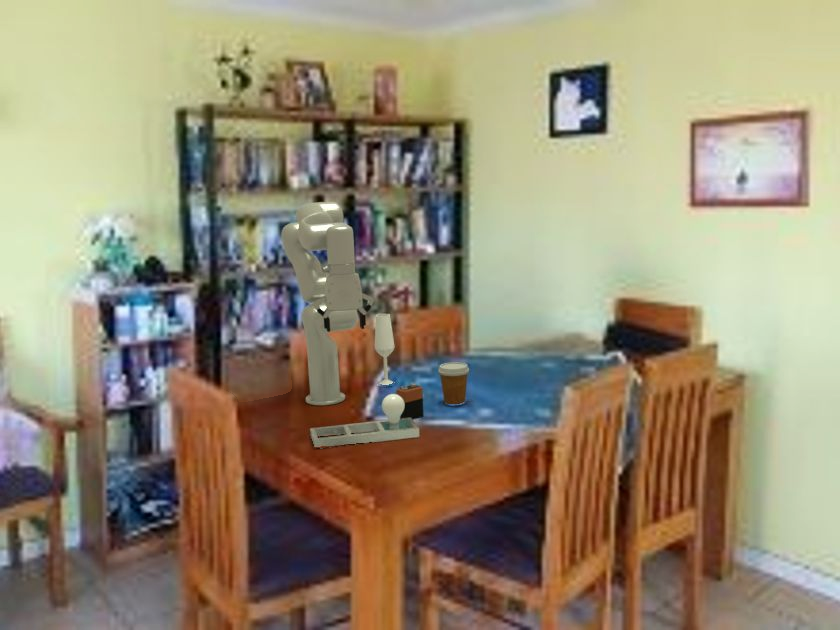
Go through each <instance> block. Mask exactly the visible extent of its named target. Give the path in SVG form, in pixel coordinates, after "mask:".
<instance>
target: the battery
mask: <svg viewBox="0 0 840 630" xmlns="http://www.w3.org/2000/svg"><path fill="white" fill-rule="evenodd" d="M396 394H397V395H399V396H400V397H402V399H403V400H404V403H405V408H404V411H403V413H402V414H401V416H400V418H409V417H411V418H412V420H414V418H415V419H418V418H417V417H419V418H421V417H420V416H422V417H424V396H423V394H424V393H423V387H422V386H420V385H418V382H411V383H409V385H402V386H401V387H397V388H396Z"/></svg>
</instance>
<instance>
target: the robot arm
mask: <svg viewBox="0 0 840 630" xmlns="http://www.w3.org/2000/svg"><path fill="white" fill-rule="evenodd" d="M295 220H296V221H295V222H291V223H287V224H286V225H284V227H283V228H282V230H281V243H282V246H283V249H284V252H285V254H286V257H287V259H288V260H289V262H290V263H291V264H292V266H293V269H294V272H295V276H296V281H297V285H298V289H299V292H300V296H301V299H302V300H303V301H304V302H305V303H307V304H308V305H305V307H304V308H303V309H302V312H301V321H302V325H303V329H304V334H305V342H306V351H307V352H306V353H307V364H308V365H307V366H308V381H309V394H308V395H307V396H306V397H305V402H306V403H307V404H309V405H312V406H331V405H335V404H339V403H341V402H343V401H345V399H346V395H345V394H344V393H343V392H342V391H341V389H340V388H341V387H340V374H339V373H340V371H339V369H340V368H339V357H338V355H339V354H338V353H339V352H338V345H337V342H336V341H335V340H334V339H333V338H332V337H331V336H330V335H329V333H333V332H341V331H348V330H352V329H354V328H356V326H357V325H358V322H359V327H360V329H362V330H364V329H365V326H366V325H367V323H366V322H367V321H366V320H367V318H366V315H367V314H368V312H369V311H370V310H371V309H372V307H373V304H374V302H375V298H374V297H372V296H370V295H367V294H365V293H363V292H362V286H361V280H360V276H359V273H356V260H355V245H354V244H355V240H354V230H353V227H352V226H350V225H348V224H347V223H346V222H344V212H343V209H342V207H341V206H340V204H338V203H337V202H336V201H319V202H307V203H304V204H302V205H300V206H299V207H298V208H297V210H296V213H295ZM317 251H327V253H326V254H327V265H326V266H323V267H322V265H321V262H320V260H319V259H318V258H317V256H316V255H314V254H313V253H312V252H317ZM363 300H366V301H367V303H366V305H365V306H364V307H363V305H364V304H363V302H364V301H363ZM358 311H359V312H360V313H359V314H358Z"/></svg>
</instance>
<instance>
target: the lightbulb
mask: <svg viewBox="0 0 840 630" xmlns="http://www.w3.org/2000/svg"><path fill="white" fill-rule="evenodd" d="M381 402H382V403H381V409H382V412H383V413H384V414H385V416H386V418H387V420H388V421H389V426H390V430H396V429H399V421H400V416H401V414H402V413H403V411H404V408H405V403H404V400H403V399H402V397H400V396H399V395H397V393H390V394H387V395H386V396H385V397H384V398H383V400H382V401H381Z"/></svg>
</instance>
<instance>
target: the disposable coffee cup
mask: <svg viewBox="0 0 840 630" xmlns="http://www.w3.org/2000/svg"><path fill="white" fill-rule="evenodd" d="M437 371H438V373H439V376H440V382H441V389H442V395H443V401H444V404H445V403H447V404H460V403H463V402H465V403H466V395H467V386H468V385H467V383H468V374H469V372H470V368H469V366H468V364H467V363H465V362H458V361H454V362H453V361H452V362H445V363H441V364H440V365H439V367H438V370H437Z"/></svg>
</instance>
